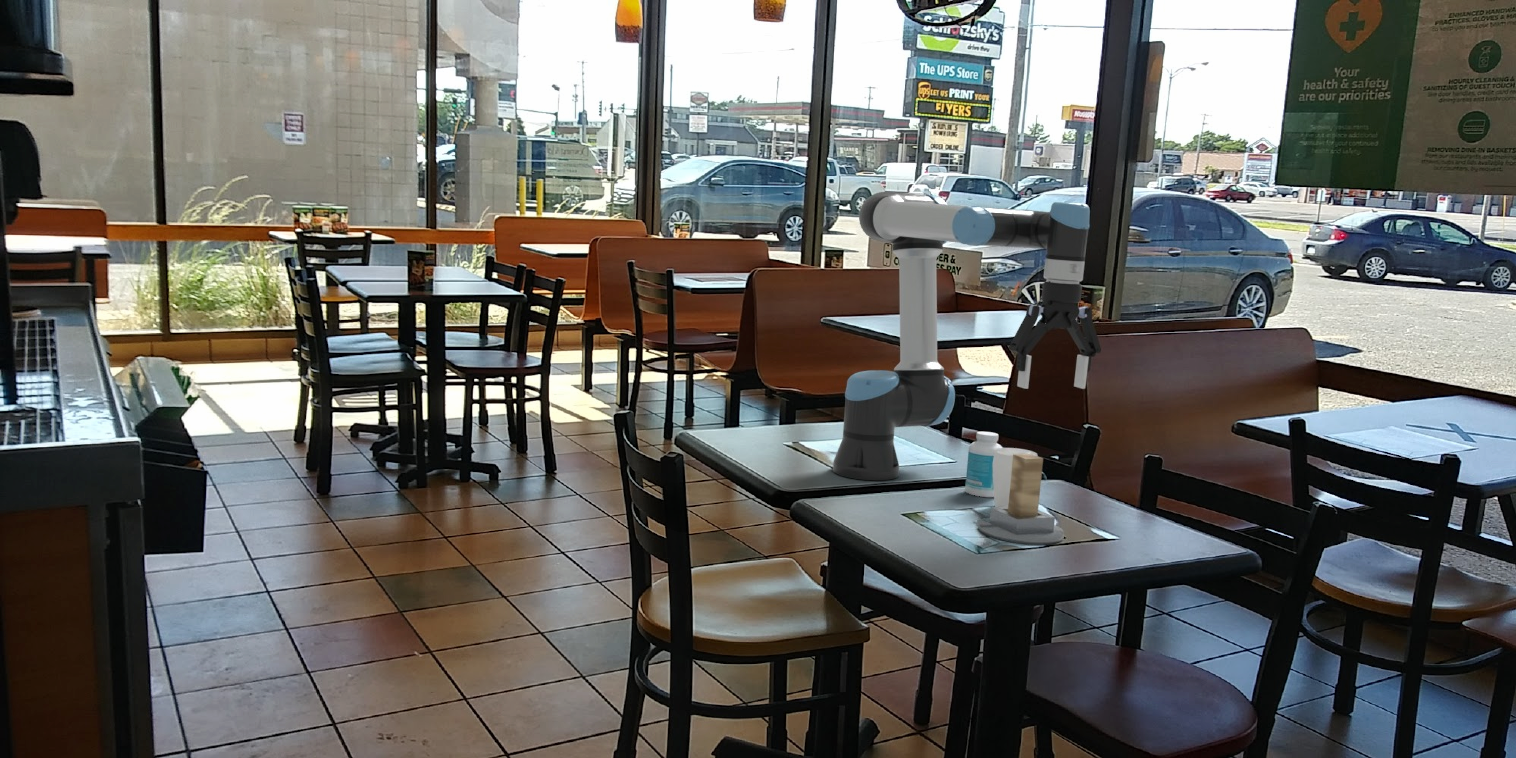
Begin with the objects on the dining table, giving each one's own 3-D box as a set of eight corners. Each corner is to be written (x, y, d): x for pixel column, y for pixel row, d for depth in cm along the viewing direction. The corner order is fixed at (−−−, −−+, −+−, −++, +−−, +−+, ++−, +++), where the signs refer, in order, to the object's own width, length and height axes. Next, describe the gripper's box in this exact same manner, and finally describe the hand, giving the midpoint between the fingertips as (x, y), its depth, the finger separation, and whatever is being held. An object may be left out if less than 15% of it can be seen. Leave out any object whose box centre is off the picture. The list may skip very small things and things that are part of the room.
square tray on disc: (962, 523, 224) (964, 503, 223) (1029, 519, 230) (1031, 499, 229) (1010, 547, 209) (1012, 525, 208) (1081, 541, 215) (1083, 521, 215)
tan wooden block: (1006, 525, 220) (1013, 454, 218) (1023, 524, 222) (1030, 453, 220) (1018, 530, 217) (1025, 458, 215) (1036, 529, 218) (1043, 458, 216)
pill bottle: (997, 500, 244) (1002, 438, 242) (962, 495, 246) (967, 434, 244) (1001, 492, 251) (1006, 432, 249) (967, 488, 253) (972, 428, 251)
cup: (1033, 516, 232) (1039, 458, 231) (988, 511, 234) (993, 454, 232) (1032, 505, 241) (1037, 450, 239) (988, 501, 243) (993, 446, 241)
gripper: (1020, 281, 217) (1008, 390, 220) (1126, 285, 226) (1114, 390, 229) (998, 277, 224) (987, 384, 227) (1102, 282, 233) (1091, 384, 236)
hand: (1051, 387), depth 228 cm, fingers open, 13 cm apart
